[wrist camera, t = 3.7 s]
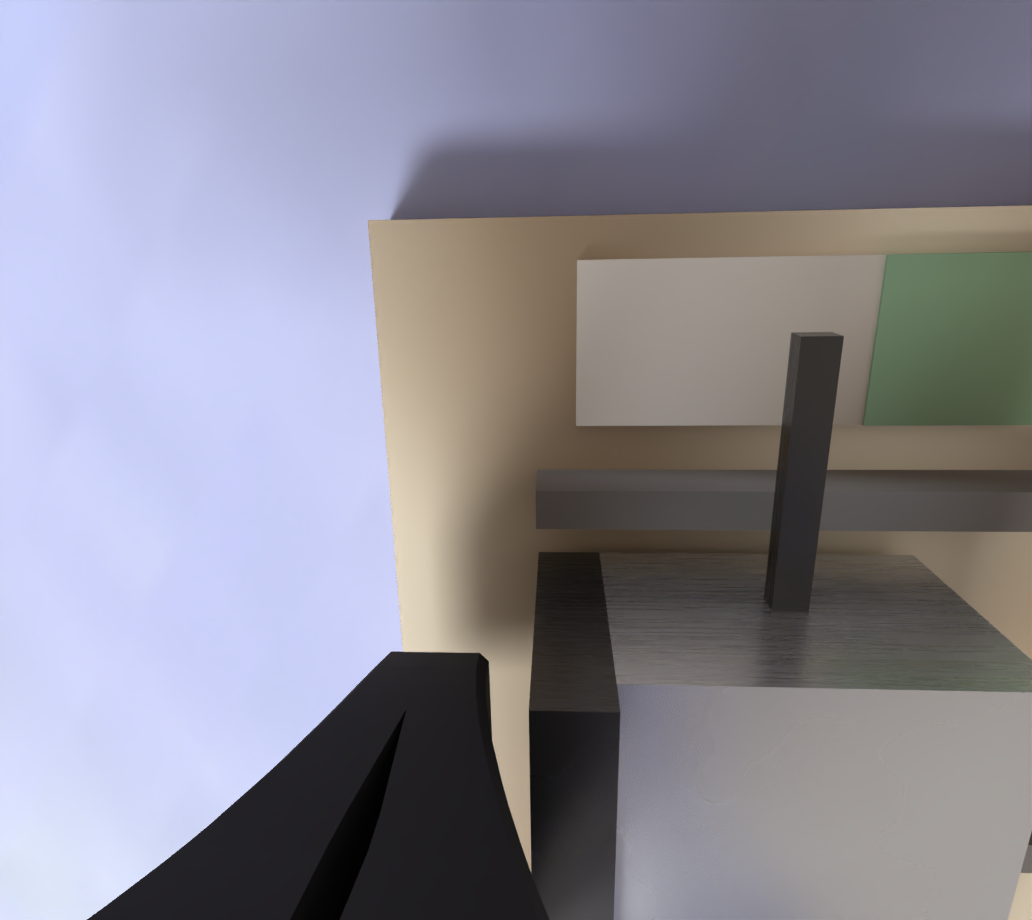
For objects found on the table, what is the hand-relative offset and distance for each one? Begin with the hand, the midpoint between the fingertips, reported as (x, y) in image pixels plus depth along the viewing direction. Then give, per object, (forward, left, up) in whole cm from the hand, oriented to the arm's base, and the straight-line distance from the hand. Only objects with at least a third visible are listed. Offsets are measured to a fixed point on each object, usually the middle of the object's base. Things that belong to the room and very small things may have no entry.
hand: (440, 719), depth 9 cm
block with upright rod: (+2, -4, -1) cm, 4 cm away
